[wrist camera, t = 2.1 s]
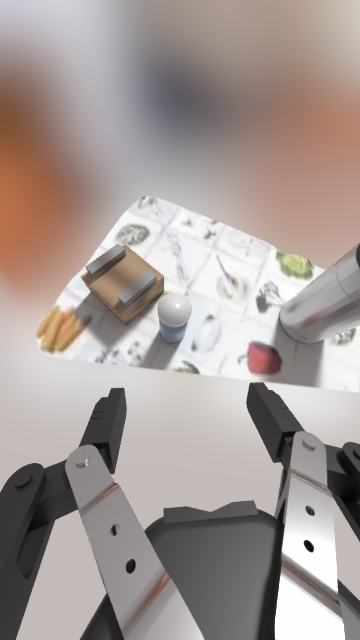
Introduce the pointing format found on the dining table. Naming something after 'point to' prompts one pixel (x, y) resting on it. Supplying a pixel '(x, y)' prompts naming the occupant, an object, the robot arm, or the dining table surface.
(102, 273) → the display plinth
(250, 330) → the dining table surface
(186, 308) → the ball-topped blue cylinder
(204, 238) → the dining table surface
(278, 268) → the dining table surface
